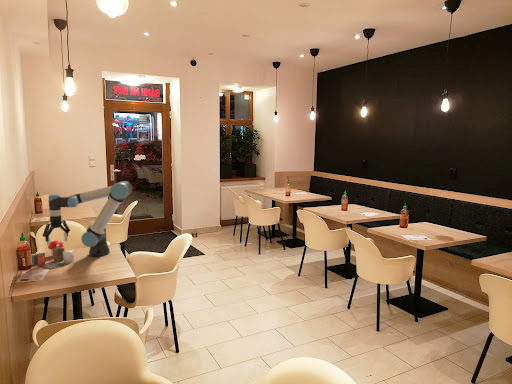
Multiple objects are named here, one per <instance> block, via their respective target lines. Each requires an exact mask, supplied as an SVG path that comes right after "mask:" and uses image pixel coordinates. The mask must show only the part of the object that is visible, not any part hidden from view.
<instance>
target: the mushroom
mask: <svg viewBox="0 0 512 384" xmlns="http://www.w3.org/2000/svg"><path fill="white" fill-rule="evenodd" d="M64 243H65V241H63V240H62V241H59V240H56V239H55V240H50V246H47V249H48V250H50V253H51V257H53V249H54V248H58V247H61V248H64V247H65V246H64Z"/></svg>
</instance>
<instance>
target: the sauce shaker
mask: <svg viewBox="0 0 512 384" xmlns="http://www.w3.org/2000/svg"><path fill="white" fill-rule="evenodd" d="M38 254H39V253H38ZM44 265H46V259H45V260H44V256H43V254H39V256H38V265H37V266H38V268H39V267H40V268H43V267H42V266H44Z"/></svg>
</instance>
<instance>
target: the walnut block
mask: <svg viewBox="0 0 512 384" xmlns="http://www.w3.org/2000/svg"><path fill="white" fill-rule="evenodd" d="M63 251H65V248H64V247H62V248H61V247H58V248H54V249H53V256H52V259H53V262H59V263H60V262H62V261H63V262H64V260H63Z"/></svg>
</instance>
